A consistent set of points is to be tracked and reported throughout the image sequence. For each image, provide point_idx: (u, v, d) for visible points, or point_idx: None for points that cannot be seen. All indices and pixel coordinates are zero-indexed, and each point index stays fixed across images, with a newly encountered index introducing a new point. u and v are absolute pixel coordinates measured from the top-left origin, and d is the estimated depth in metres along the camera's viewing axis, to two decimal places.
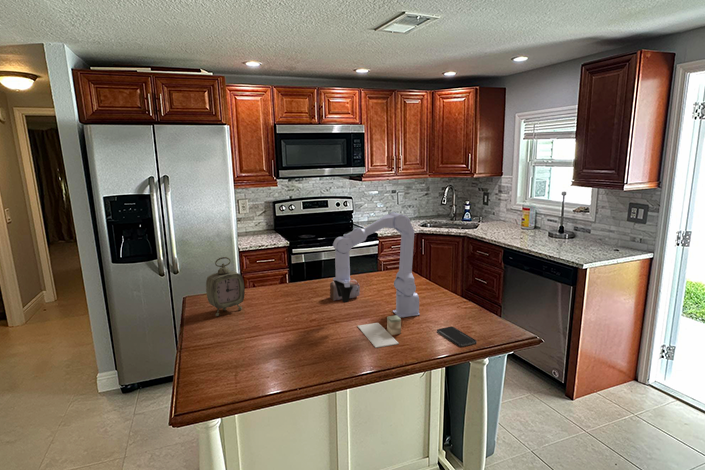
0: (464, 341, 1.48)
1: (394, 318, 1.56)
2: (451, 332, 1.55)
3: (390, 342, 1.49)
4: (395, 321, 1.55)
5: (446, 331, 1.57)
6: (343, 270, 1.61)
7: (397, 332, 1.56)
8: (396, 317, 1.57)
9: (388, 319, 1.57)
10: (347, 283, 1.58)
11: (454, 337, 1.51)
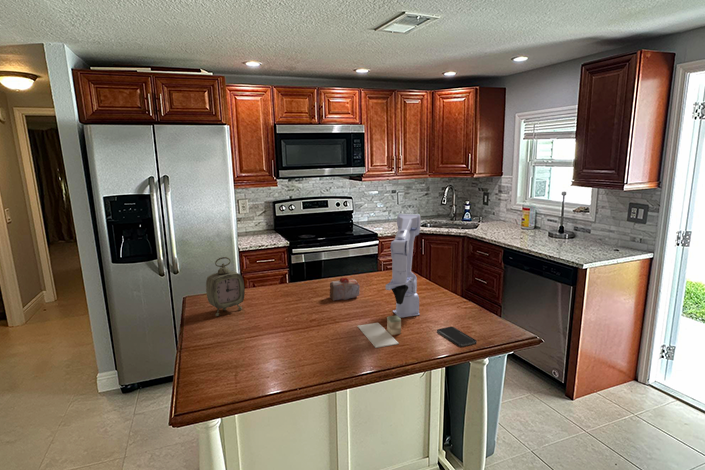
0: (464, 341, 1.48)
1: (394, 318, 1.56)
2: (451, 332, 1.55)
3: (390, 342, 1.49)
4: (395, 321, 1.55)
5: (446, 331, 1.57)
6: (394, 273, 1.58)
7: (397, 332, 1.56)
8: (396, 317, 1.57)
9: (388, 319, 1.57)
10: (387, 286, 1.56)
11: (454, 337, 1.51)
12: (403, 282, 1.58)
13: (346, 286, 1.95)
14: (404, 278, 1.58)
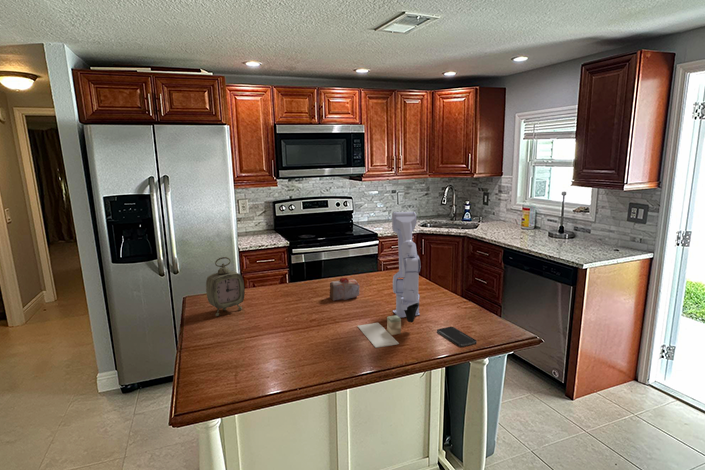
0: (464, 340, 1.48)
1: (394, 318, 1.56)
2: (451, 332, 1.55)
3: (390, 342, 1.49)
4: (395, 321, 1.55)
5: (446, 331, 1.57)
6: (407, 292, 1.55)
7: (397, 332, 1.56)
8: (396, 317, 1.57)
9: (388, 319, 1.57)
10: (403, 306, 1.52)
11: (454, 337, 1.51)
12: (416, 300, 1.56)
13: (346, 286, 1.95)
14: (417, 296, 1.56)
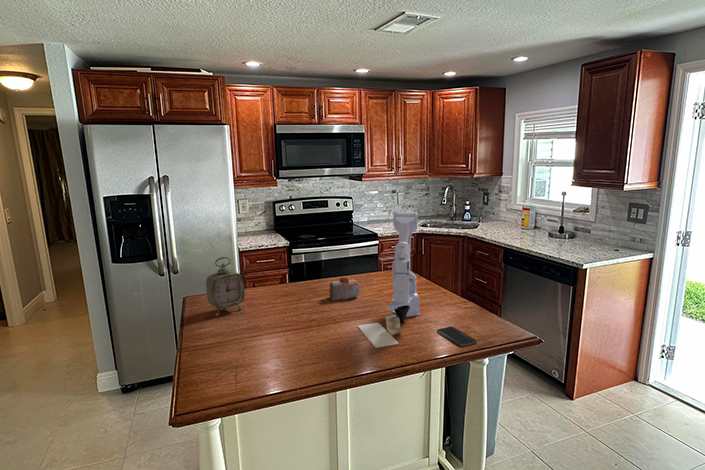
0: (464, 340, 1.48)
1: (392, 318, 1.56)
2: (451, 332, 1.55)
3: (390, 342, 1.49)
4: (393, 321, 1.55)
5: (446, 331, 1.57)
6: (396, 293, 1.54)
7: (397, 331, 1.56)
8: (394, 317, 1.57)
9: (387, 319, 1.57)
10: (390, 307, 1.51)
11: (454, 337, 1.51)
12: (405, 302, 1.54)
13: (346, 286, 1.95)
14: (406, 298, 1.54)
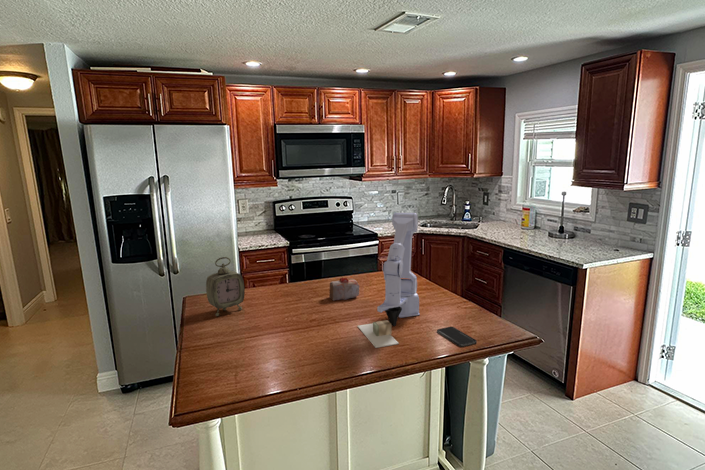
0: (464, 340, 1.48)
1: (375, 330, 1.55)
2: (451, 332, 1.55)
3: (390, 342, 1.49)
4: (378, 331, 1.54)
5: (446, 331, 1.57)
6: (387, 294, 1.54)
7: (389, 327, 1.55)
8: (374, 326, 1.55)
9: None
10: (379, 308, 1.51)
11: (454, 337, 1.51)
12: (396, 304, 1.53)
13: (346, 286, 1.95)
14: (397, 300, 1.53)
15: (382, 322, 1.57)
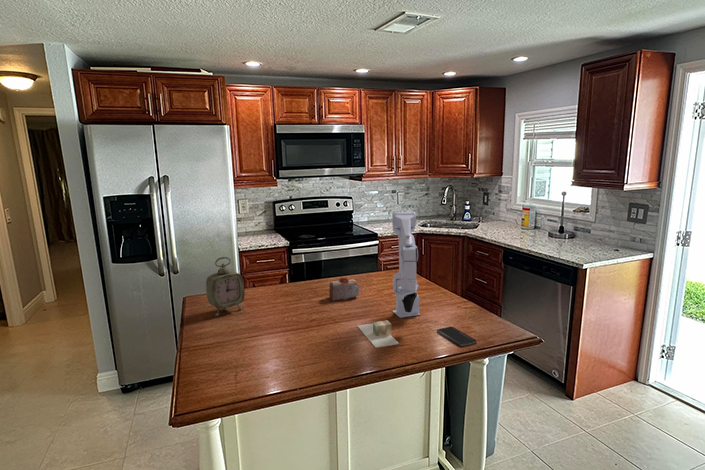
0: (464, 340, 1.48)
1: (375, 330, 1.55)
2: (451, 332, 1.55)
3: (390, 342, 1.49)
4: (378, 331, 1.54)
5: (446, 331, 1.57)
6: (404, 281, 1.54)
7: (389, 327, 1.55)
8: (374, 326, 1.55)
9: None
10: (400, 295, 1.51)
11: (454, 337, 1.51)
12: (414, 290, 1.55)
13: (346, 286, 1.95)
14: (414, 286, 1.55)
15: (382, 322, 1.56)
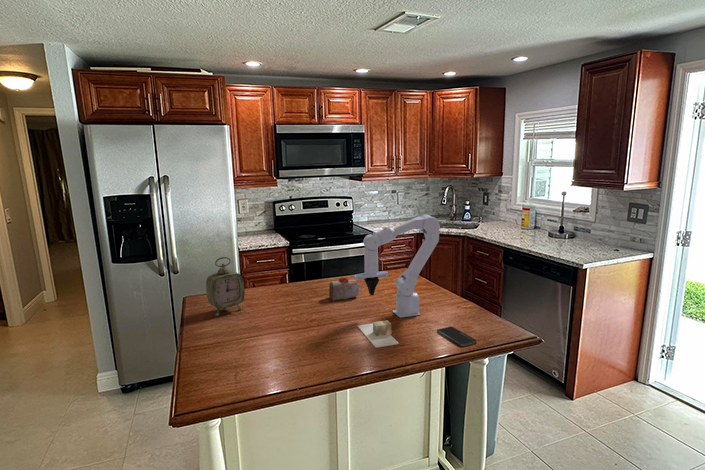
0: (464, 340, 1.48)
1: (375, 330, 1.55)
2: (451, 332, 1.55)
3: (390, 342, 1.49)
4: (378, 331, 1.54)
5: (446, 331, 1.57)
6: (364, 265, 1.71)
7: (389, 327, 1.55)
8: (374, 326, 1.55)
9: None
10: (355, 276, 1.70)
11: (454, 337, 1.51)
12: (371, 275, 1.69)
13: (346, 286, 1.95)
14: (372, 271, 1.69)
15: (382, 322, 1.56)
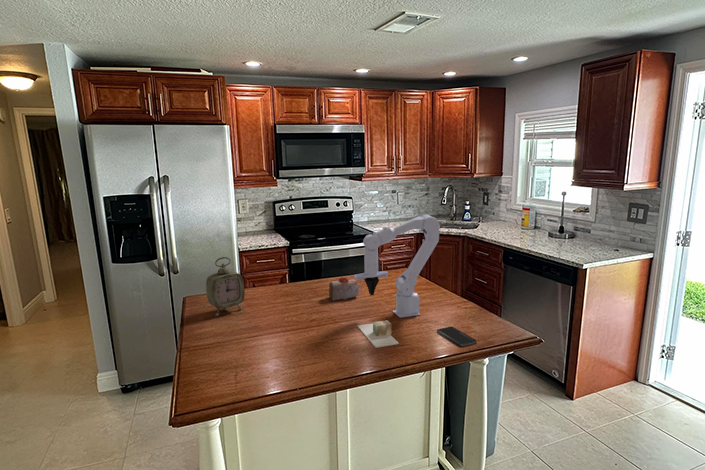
0: (464, 340, 1.48)
1: (375, 330, 1.55)
2: (451, 332, 1.55)
3: (390, 342, 1.49)
4: (378, 331, 1.54)
5: (446, 331, 1.57)
6: (364, 265, 1.71)
7: (389, 327, 1.55)
8: (374, 326, 1.55)
9: None
10: (355, 276, 1.70)
11: (454, 337, 1.51)
12: (371, 275, 1.69)
13: (346, 286, 1.95)
14: (372, 271, 1.69)
15: (382, 322, 1.56)
